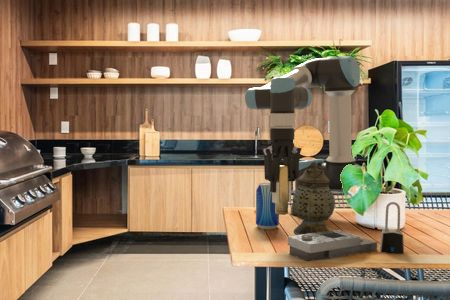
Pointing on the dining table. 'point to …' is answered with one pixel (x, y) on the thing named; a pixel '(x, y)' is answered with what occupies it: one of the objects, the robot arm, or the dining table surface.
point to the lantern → (313, 201)
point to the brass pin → (282, 191)
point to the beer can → (265, 208)
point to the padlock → (392, 236)
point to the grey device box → (328, 245)
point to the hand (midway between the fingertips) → (281, 201)
